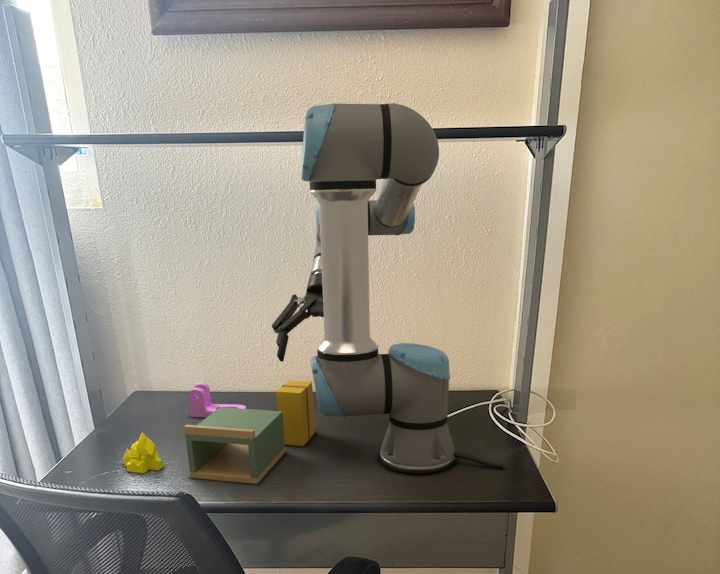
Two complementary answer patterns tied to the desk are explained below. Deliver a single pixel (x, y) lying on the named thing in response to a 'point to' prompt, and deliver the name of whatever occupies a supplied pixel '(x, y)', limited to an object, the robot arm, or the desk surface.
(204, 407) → the bracket
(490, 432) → the desk surface
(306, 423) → the package
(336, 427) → the desk surface
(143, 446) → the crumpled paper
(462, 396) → the desk surface
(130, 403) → the desk surface
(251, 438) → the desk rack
